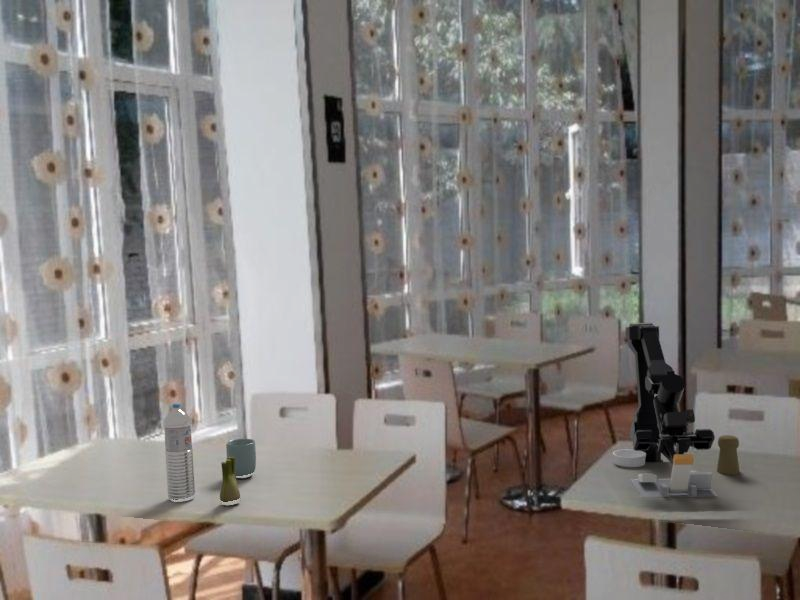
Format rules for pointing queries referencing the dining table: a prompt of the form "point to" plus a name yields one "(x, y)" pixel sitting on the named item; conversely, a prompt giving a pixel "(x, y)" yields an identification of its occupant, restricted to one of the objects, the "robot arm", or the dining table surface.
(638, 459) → the ramekin
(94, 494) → the dining table surface
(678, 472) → the lever
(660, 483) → the grey tray
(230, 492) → the fennel bulb
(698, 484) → the grey rectangular panel
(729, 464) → the cork
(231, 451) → the cup
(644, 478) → the rocker
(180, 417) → the water bottle
